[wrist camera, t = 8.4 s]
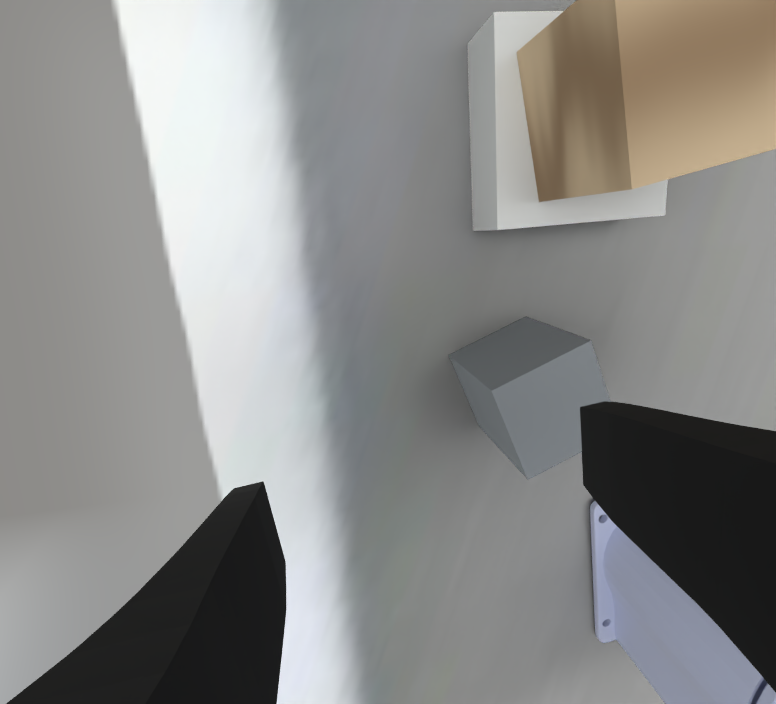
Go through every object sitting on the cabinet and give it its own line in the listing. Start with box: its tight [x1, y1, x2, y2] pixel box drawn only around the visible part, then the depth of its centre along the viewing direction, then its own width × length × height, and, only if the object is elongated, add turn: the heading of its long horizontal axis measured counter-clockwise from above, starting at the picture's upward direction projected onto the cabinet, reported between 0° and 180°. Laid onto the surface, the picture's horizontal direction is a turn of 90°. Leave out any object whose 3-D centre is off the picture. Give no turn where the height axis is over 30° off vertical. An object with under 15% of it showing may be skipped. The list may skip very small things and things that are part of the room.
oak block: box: [517, 0, 776, 202], centre depth 14 cm, size 5×5×5 cm
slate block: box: [449, 317, 611, 479], centre depth 19 cm, size 4×4×5 cm
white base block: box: [467, 11, 668, 231], centre depth 18 cm, size 7×7×3 cm
